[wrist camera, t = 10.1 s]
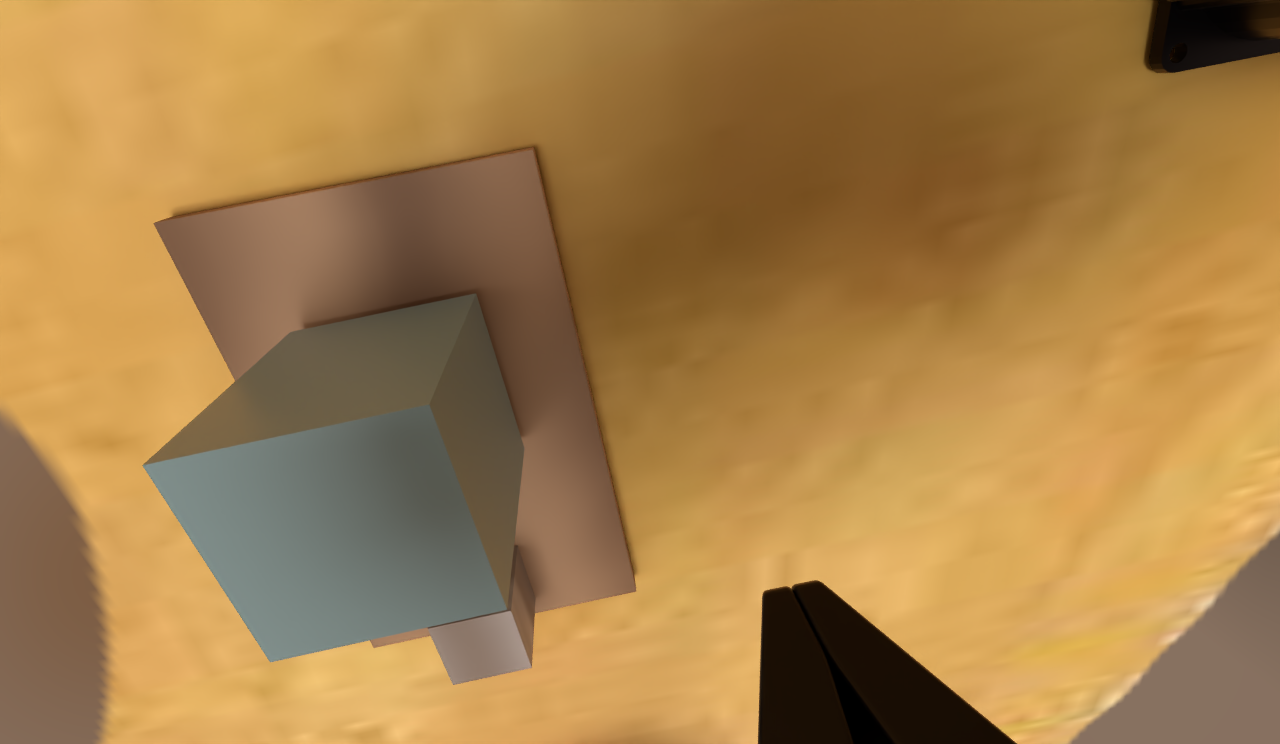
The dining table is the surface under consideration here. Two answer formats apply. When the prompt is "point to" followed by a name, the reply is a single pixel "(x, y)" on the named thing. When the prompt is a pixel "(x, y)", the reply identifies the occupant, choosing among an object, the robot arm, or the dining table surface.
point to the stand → (419, 274)
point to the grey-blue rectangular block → (356, 480)
